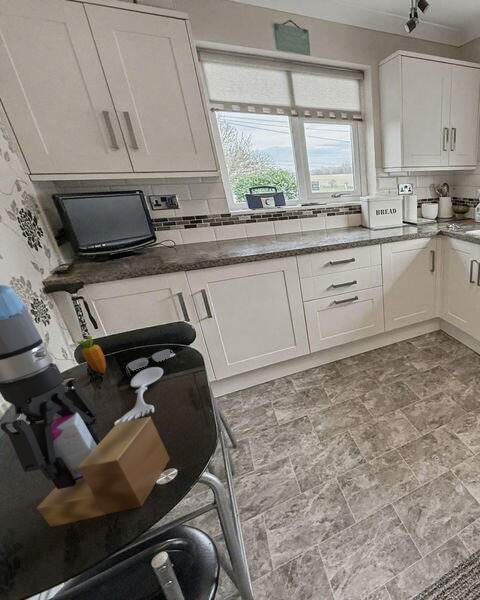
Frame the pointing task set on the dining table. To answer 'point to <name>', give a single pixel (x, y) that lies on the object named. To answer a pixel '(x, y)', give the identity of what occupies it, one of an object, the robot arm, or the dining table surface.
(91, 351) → the carrot
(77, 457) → the supplement box
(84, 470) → the wooden stepped block
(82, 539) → the dining table surface
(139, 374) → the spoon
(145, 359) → the eyeglasses
